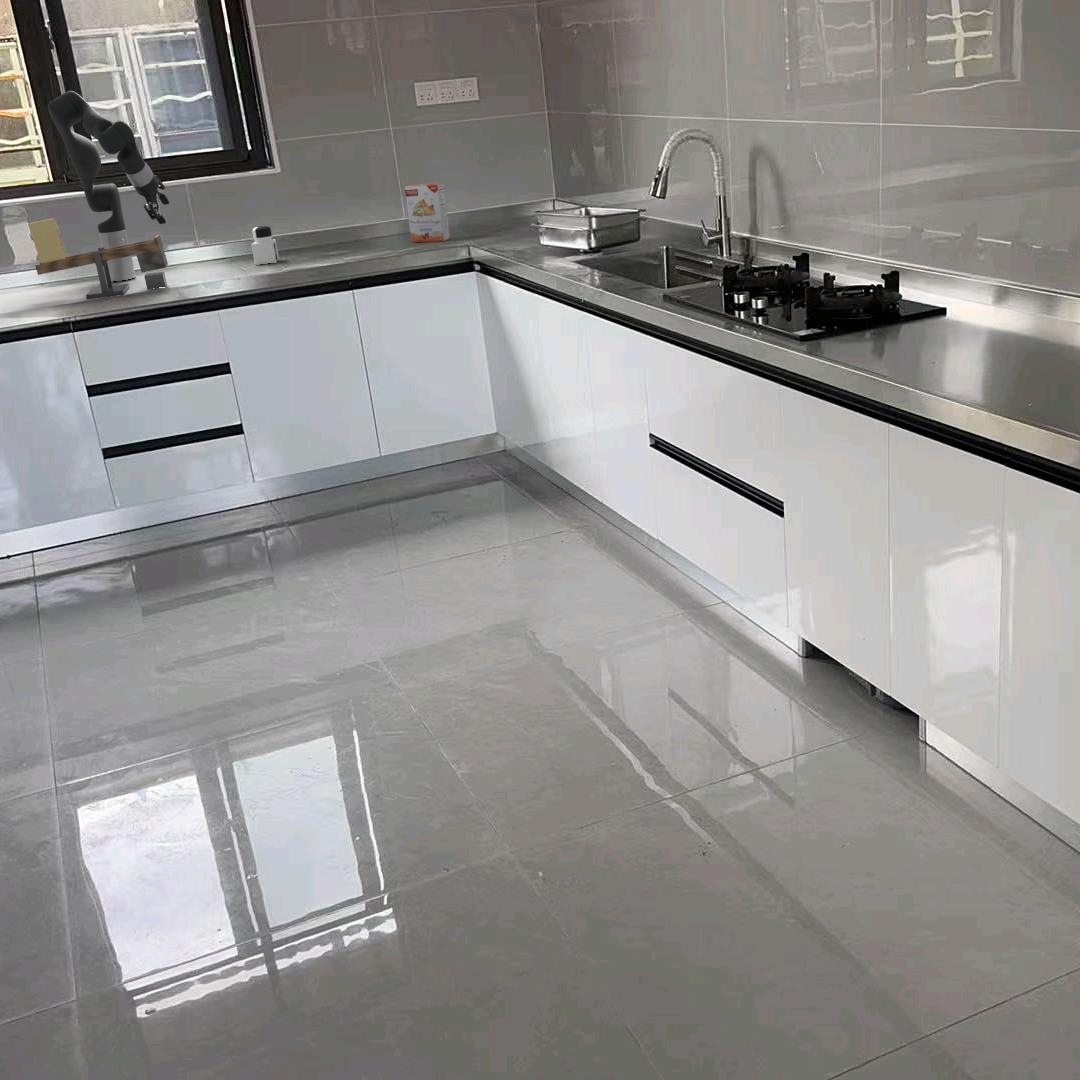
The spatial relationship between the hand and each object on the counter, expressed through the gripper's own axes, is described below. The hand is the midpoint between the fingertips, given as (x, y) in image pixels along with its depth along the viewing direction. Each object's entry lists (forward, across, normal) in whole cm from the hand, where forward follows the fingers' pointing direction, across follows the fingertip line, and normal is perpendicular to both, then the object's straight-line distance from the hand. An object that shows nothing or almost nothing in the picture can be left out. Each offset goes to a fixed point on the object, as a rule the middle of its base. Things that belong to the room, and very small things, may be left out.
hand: (164, 213), depth 398 cm
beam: (+11, +14, -24) cm, 30 cm away
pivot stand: (+17, +16, -19) cm, 30 cm away
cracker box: (+65, -33, +72) cm, 102 cm away
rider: (+3, +12, -38) cm, 40 cm away
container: (+46, -16, +15) cm, 51 cm away
